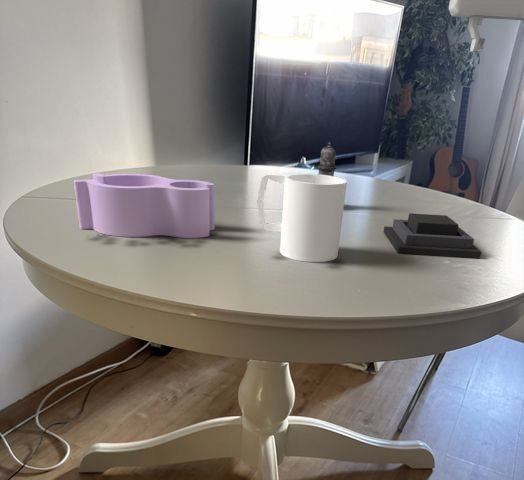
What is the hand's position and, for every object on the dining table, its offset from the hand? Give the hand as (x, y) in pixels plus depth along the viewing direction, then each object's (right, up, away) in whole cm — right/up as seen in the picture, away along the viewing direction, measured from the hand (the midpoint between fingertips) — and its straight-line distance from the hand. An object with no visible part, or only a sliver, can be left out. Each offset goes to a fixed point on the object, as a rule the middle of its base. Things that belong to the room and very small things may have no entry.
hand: (505, 53), depth 77 cm
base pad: (-13, -31, -2) cm, 34 cm away
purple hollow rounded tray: (-57, -28, -1) cm, 64 cm away
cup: (-34, -34, -8) cm, 49 cm away
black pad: (-13, -30, -2) cm, 33 cm away
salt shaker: (-27, -19, +20) cm, 38 cm away
